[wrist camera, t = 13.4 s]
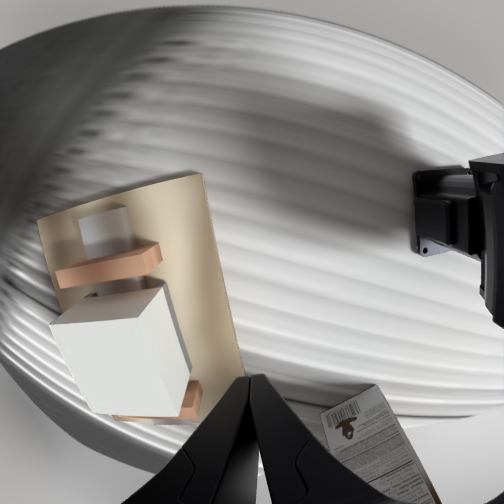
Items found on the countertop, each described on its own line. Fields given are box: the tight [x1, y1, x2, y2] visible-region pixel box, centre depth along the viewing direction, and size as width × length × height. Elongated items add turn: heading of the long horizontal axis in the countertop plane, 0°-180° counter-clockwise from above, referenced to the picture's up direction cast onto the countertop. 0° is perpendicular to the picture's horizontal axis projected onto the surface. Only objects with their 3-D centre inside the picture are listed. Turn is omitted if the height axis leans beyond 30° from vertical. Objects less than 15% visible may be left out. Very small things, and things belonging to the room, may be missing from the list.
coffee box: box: [320, 385, 442, 504], centre depth 16 cm, size 9×6×16 cm
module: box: [49, 282, 192, 417], centre depth 17 cm, size 7×7×6 cm
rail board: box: [37, 173, 246, 425], centre depth 19 cm, size 14×20×4 cm
